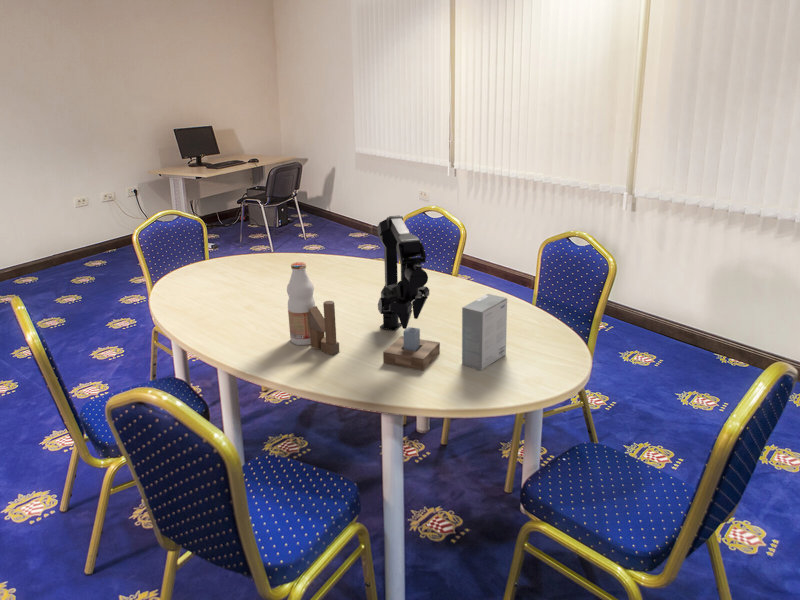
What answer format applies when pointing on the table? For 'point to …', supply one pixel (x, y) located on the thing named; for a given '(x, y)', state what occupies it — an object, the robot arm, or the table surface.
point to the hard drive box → (484, 331)
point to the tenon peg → (411, 339)
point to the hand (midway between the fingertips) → (410, 323)
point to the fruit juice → (300, 304)
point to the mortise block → (411, 354)
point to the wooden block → (323, 328)
